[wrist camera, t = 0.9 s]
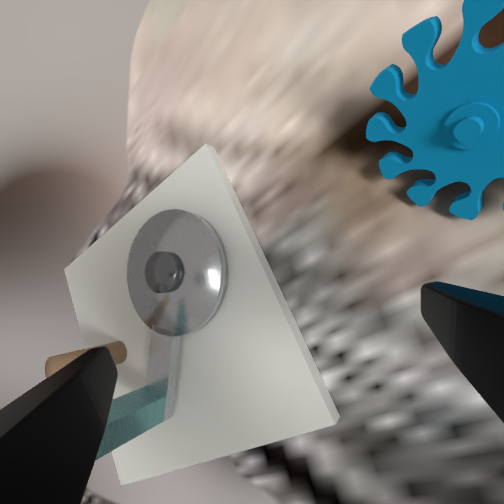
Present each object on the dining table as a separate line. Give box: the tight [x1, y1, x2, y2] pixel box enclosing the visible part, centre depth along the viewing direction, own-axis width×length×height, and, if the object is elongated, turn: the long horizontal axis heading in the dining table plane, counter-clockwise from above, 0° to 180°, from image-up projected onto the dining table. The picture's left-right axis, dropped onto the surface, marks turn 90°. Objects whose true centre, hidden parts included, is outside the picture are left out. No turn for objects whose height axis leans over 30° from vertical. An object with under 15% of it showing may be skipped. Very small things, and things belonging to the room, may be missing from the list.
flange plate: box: [95, 209, 229, 460], centre depth 22 cm, size 16×10×9 cm, turn 172°
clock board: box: [45, 144, 340, 486], centre depth 25 cm, size 22×22×7 cm
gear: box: [366, 0, 504, 220], centre depth 15 cm, size 11×6×10 cm
